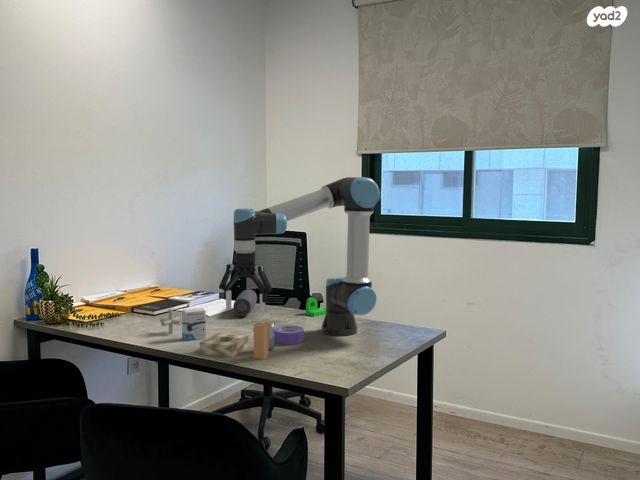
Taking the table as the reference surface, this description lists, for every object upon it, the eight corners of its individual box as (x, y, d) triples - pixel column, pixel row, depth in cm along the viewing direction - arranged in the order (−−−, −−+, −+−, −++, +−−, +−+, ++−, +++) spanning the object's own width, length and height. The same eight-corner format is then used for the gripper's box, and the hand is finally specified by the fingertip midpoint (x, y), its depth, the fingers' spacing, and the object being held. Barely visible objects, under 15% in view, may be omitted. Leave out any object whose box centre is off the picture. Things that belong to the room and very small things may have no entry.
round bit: (275, 348, 218) (275, 322, 217) (271, 351, 215) (271, 325, 214) (266, 347, 220) (265, 321, 218) (261, 350, 216) (261, 324, 215)
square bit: (268, 355, 209) (268, 323, 208) (264, 359, 205) (264, 326, 204) (258, 354, 210) (258, 322, 209) (253, 358, 206) (253, 325, 205)
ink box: (185, 341, 227) (184, 311, 226) (182, 338, 232) (181, 309, 230) (206, 338, 231) (206, 309, 230) (202, 335, 235) (202, 307, 234)
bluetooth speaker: (252, 318, 266) (252, 297, 265) (232, 318, 267) (232, 297, 266) (258, 307, 289) (258, 288, 288) (239, 307, 289) (239, 288, 288)
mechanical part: (314, 317, 271) (314, 300, 270) (305, 314, 275) (305, 298, 274) (332, 313, 279) (333, 297, 278) (324, 311, 283) (324, 295, 282)
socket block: (248, 346, 221) (248, 336, 221) (232, 356, 208) (232, 345, 207) (217, 343, 225) (217, 333, 224) (199, 353, 212) (199, 342, 211)
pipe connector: (188, 331, 241) (188, 308, 240) (173, 337, 232) (172, 313, 231) (169, 329, 246) (169, 306, 245) (153, 334, 237) (152, 310, 236)
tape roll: (292, 347, 221) (292, 334, 220) (267, 342, 227) (267, 330, 227) (309, 340, 231) (309, 327, 230) (285, 335, 237) (285, 323, 237)
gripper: (280, 251, 207) (281, 310, 209) (219, 249, 215) (220, 305, 217) (272, 254, 200) (272, 314, 202) (208, 251, 208) (210, 309, 210)
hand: (245, 309), depth 210 cm, fingers open, 13 cm apart
